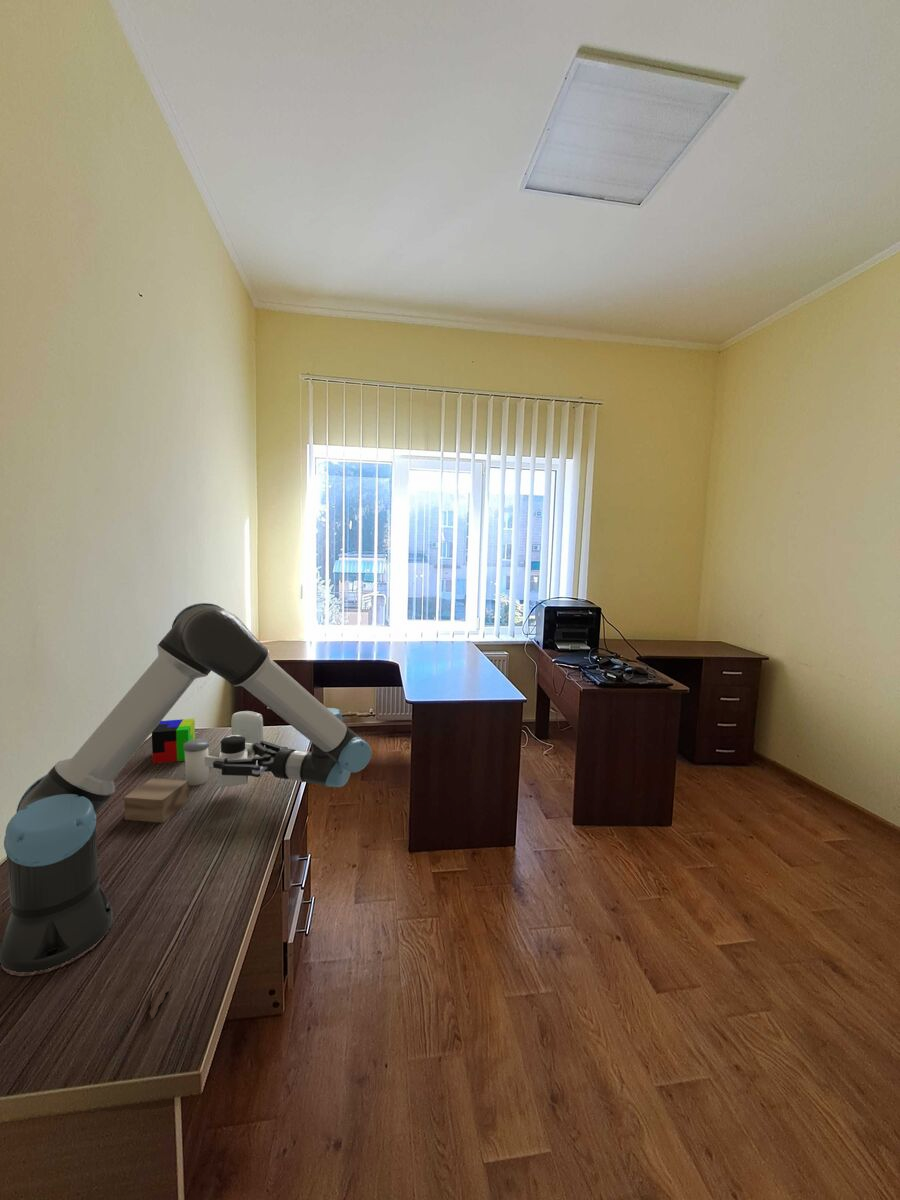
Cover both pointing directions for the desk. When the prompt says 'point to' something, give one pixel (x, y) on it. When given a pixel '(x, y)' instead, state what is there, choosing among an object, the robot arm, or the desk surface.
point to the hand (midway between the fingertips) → (219, 753)
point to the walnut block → (156, 800)
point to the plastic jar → (196, 761)
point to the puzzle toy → (171, 740)
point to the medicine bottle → (232, 751)
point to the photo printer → (248, 726)
